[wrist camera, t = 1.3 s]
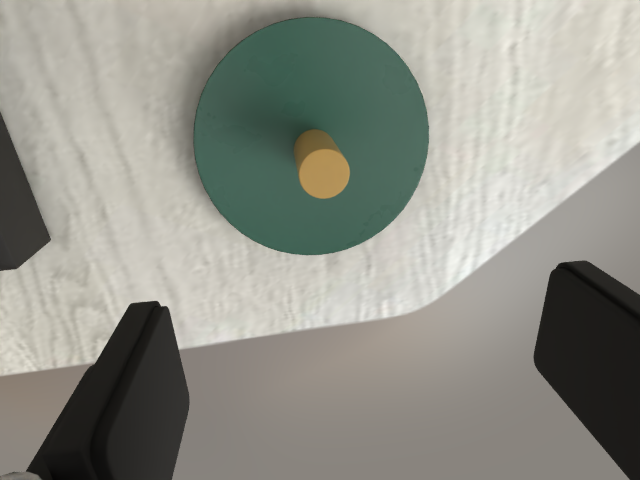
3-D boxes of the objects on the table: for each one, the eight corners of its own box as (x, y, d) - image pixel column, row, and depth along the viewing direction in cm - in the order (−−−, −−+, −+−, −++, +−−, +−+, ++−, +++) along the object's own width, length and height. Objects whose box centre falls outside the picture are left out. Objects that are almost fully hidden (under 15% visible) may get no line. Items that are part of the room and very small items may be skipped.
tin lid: (176, 25, 22) (140, 15, 16) (429, 12, 23) (482, -1, 17) (216, 256, 27) (200, 311, 22) (416, 238, 28) (454, 286, 22)
